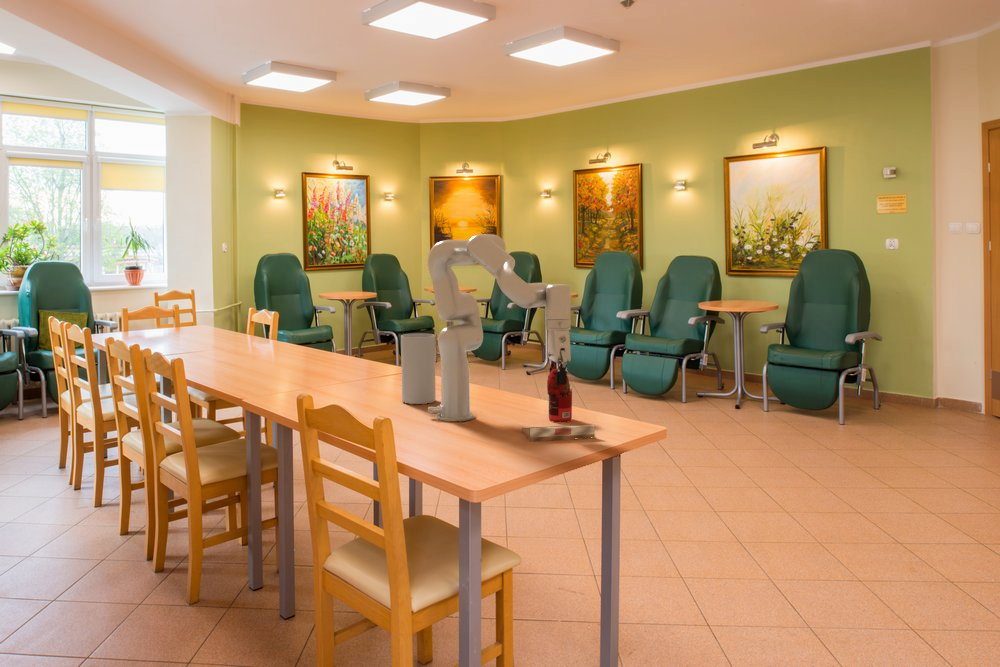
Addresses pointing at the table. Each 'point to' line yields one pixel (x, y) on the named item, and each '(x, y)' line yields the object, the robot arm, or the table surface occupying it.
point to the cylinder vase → (418, 368)
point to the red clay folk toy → (555, 389)
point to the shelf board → (559, 432)
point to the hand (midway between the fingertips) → (557, 381)
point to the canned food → (560, 408)
